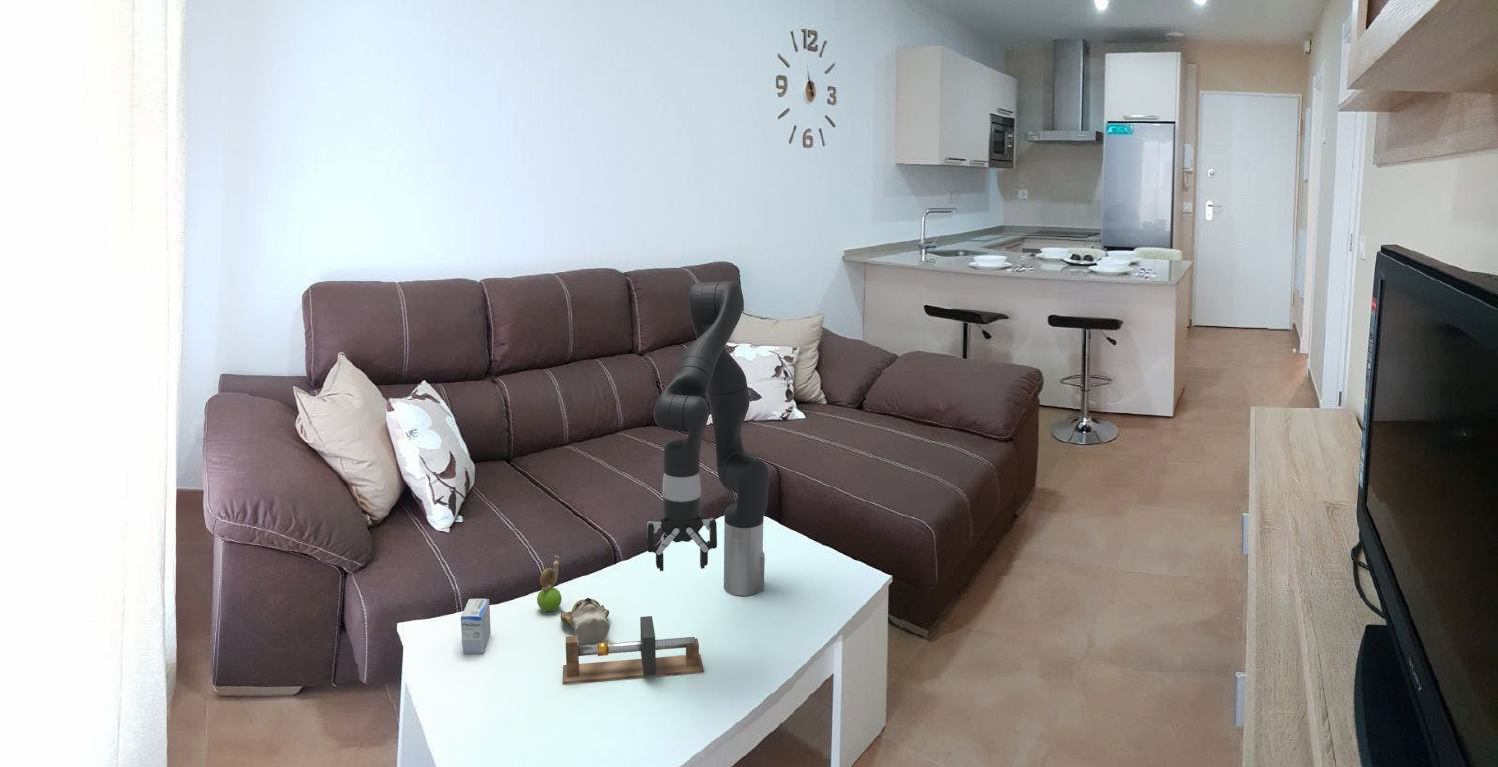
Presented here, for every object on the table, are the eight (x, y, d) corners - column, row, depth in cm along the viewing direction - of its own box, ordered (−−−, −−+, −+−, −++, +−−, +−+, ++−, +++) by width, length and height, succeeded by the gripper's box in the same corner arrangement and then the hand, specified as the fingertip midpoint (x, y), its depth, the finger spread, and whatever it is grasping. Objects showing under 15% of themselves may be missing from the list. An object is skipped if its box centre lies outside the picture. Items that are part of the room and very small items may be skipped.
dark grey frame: (652, 652, 194) (652, 616, 192) (655, 675, 186) (655, 637, 184) (640, 653, 194) (640, 616, 192) (643, 676, 186) (643, 638, 184)
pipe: (694, 644, 192) (694, 632, 192) (695, 650, 190) (695, 639, 189) (569, 654, 188) (569, 642, 187) (569, 661, 185) (569, 649, 185)
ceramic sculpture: (568, 615, 193) (557, 587, 207) (569, 654, 195) (558, 623, 209) (619, 608, 197) (604, 580, 211) (620, 646, 199) (605, 616, 212)
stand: (700, 656, 195) (700, 622, 193) (703, 672, 189) (704, 636, 187) (563, 667, 190) (561, 632, 188) (562, 684, 185) (561, 648, 182)
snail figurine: (569, 605, 215) (567, 557, 212) (552, 618, 210) (550, 568, 206) (550, 600, 217) (548, 552, 214) (532, 612, 212) (530, 563, 209)
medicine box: (470, 634, 202) (467, 598, 200) (491, 634, 203) (489, 597, 200) (462, 654, 195) (459, 616, 192) (484, 653, 195) (482, 616, 193)
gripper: (715, 484, 190) (714, 558, 194) (644, 487, 188) (645, 562, 192) (720, 498, 183) (719, 574, 187) (646, 501, 181) (647, 579, 185)
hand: (681, 568), depth 190 cm, fingers open, 8 cm apart
